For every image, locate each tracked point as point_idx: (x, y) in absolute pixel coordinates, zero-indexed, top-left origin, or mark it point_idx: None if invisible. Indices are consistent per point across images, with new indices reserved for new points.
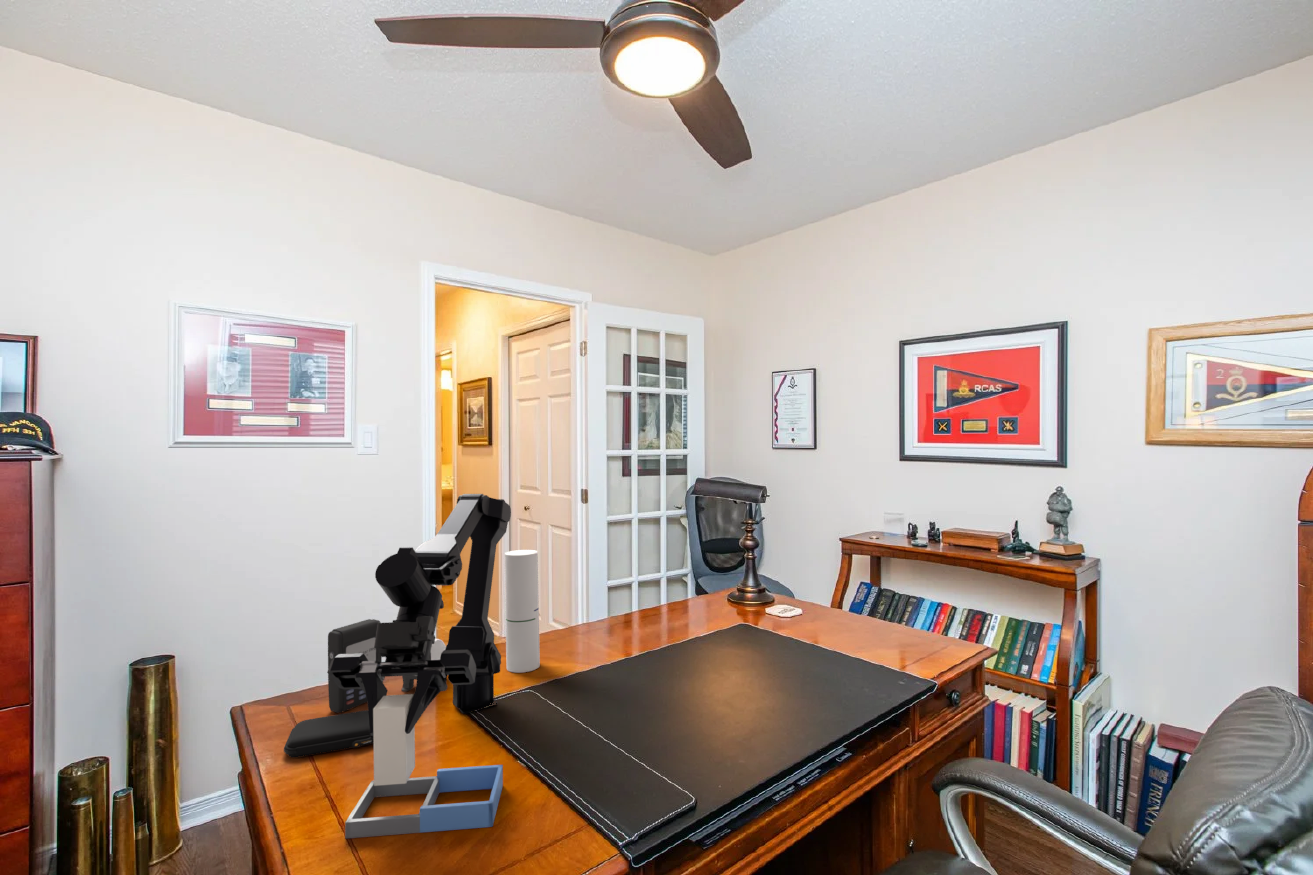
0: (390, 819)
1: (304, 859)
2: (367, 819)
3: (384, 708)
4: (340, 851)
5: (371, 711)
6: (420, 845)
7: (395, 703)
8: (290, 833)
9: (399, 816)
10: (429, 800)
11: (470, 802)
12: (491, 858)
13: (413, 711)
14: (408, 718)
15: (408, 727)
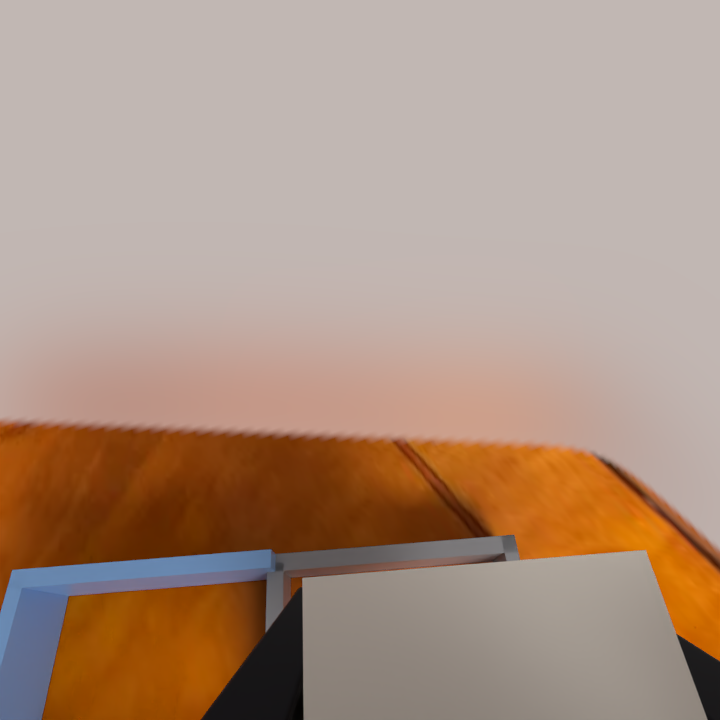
0: (371, 548)
1: (557, 462)
2: (447, 547)
3: (526, 563)
4: (480, 488)
5: (703, 672)
6: (267, 502)
7: (461, 696)
8: (694, 581)
9: (345, 557)
10: None
11: (91, 580)
12: (74, 444)
13: (251, 680)
14: (299, 636)
15: (295, 594)
